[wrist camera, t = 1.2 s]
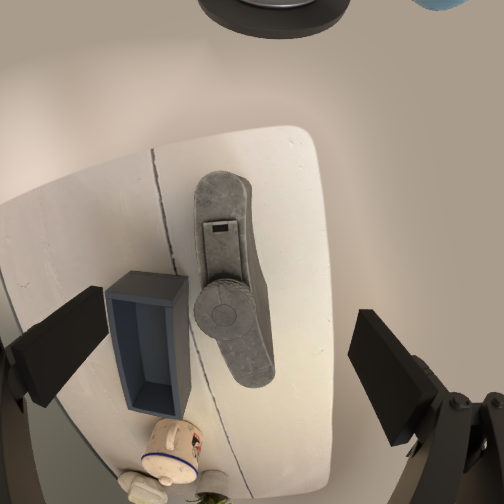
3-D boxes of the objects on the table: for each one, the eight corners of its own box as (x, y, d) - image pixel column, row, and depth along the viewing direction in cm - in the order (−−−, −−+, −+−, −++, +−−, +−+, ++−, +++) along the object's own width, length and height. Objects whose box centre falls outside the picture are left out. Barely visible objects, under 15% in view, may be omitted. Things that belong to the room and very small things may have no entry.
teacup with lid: (203, 450, 41) (194, 499, 30) (155, 439, 41) (140, 486, 29) (207, 412, 38) (196, 469, 27) (151, 399, 38) (129, 452, 26)
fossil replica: (117, 462, 45) (132, 478, 48) (106, 487, 37) (123, 501, 40) (163, 475, 43) (175, 489, 47) (153, 503, 36) (167, 515, 39)
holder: (130, 270, 32) (104, 290, 26) (188, 276, 32) (172, 300, 26) (143, 379, 37) (128, 409, 30) (191, 387, 37) (182, 421, 30)
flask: (238, 302, 33) (222, 413, 16) (216, 180, 30) (163, 179, 12) (268, 297, 33) (279, 407, 15) (249, 175, 30) (240, 163, 12)
